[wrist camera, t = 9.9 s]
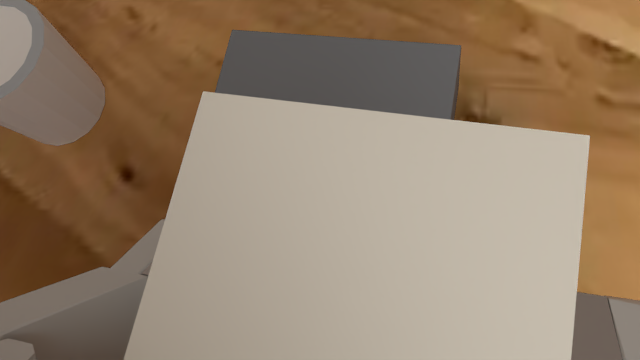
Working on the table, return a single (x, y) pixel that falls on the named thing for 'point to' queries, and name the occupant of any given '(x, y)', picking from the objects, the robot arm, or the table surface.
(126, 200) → the table surface
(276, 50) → the slate block
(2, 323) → the robot arm
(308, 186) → the cream block
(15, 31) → the white cylinder
